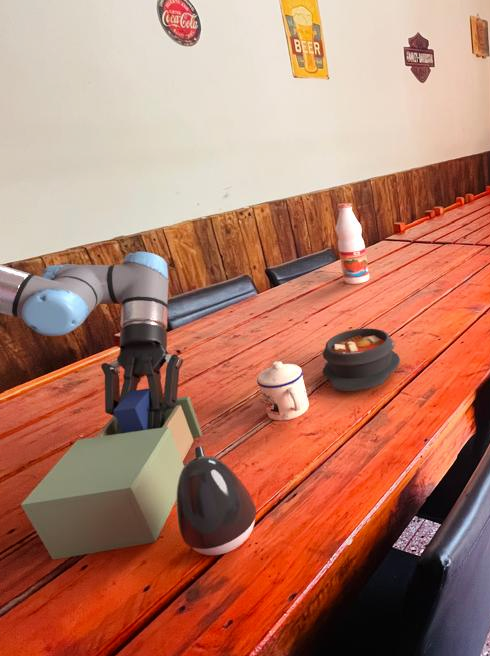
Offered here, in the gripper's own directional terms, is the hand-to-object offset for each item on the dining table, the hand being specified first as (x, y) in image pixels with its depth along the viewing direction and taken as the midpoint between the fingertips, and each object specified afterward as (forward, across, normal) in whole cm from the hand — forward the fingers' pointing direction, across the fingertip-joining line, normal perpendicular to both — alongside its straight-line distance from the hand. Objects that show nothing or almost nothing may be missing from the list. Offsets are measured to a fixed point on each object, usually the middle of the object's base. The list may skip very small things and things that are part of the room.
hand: (140, 450), depth 91 cm
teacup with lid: (-6, -23, -14) cm, 28 cm away
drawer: (0, 0, -7) cm, 7 cm away
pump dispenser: (+18, -18, +10) cm, 28 cm away
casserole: (-17, -38, -25) cm, 49 cm away
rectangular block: (-1, 0, -5) cm, 5 cm away
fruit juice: (-70, -35, -78) cm, 111 cm away
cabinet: (+11, 0, +3) cm, 12 cm away
